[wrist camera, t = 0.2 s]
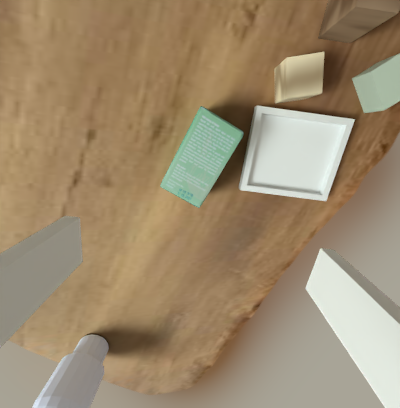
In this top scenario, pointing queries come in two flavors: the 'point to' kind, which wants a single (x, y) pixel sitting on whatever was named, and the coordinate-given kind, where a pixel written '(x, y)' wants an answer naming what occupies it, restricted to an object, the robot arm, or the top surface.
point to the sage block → (379, 85)
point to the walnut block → (355, 18)
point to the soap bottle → (76, 376)
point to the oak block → (299, 77)
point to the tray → (293, 152)
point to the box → (201, 157)
